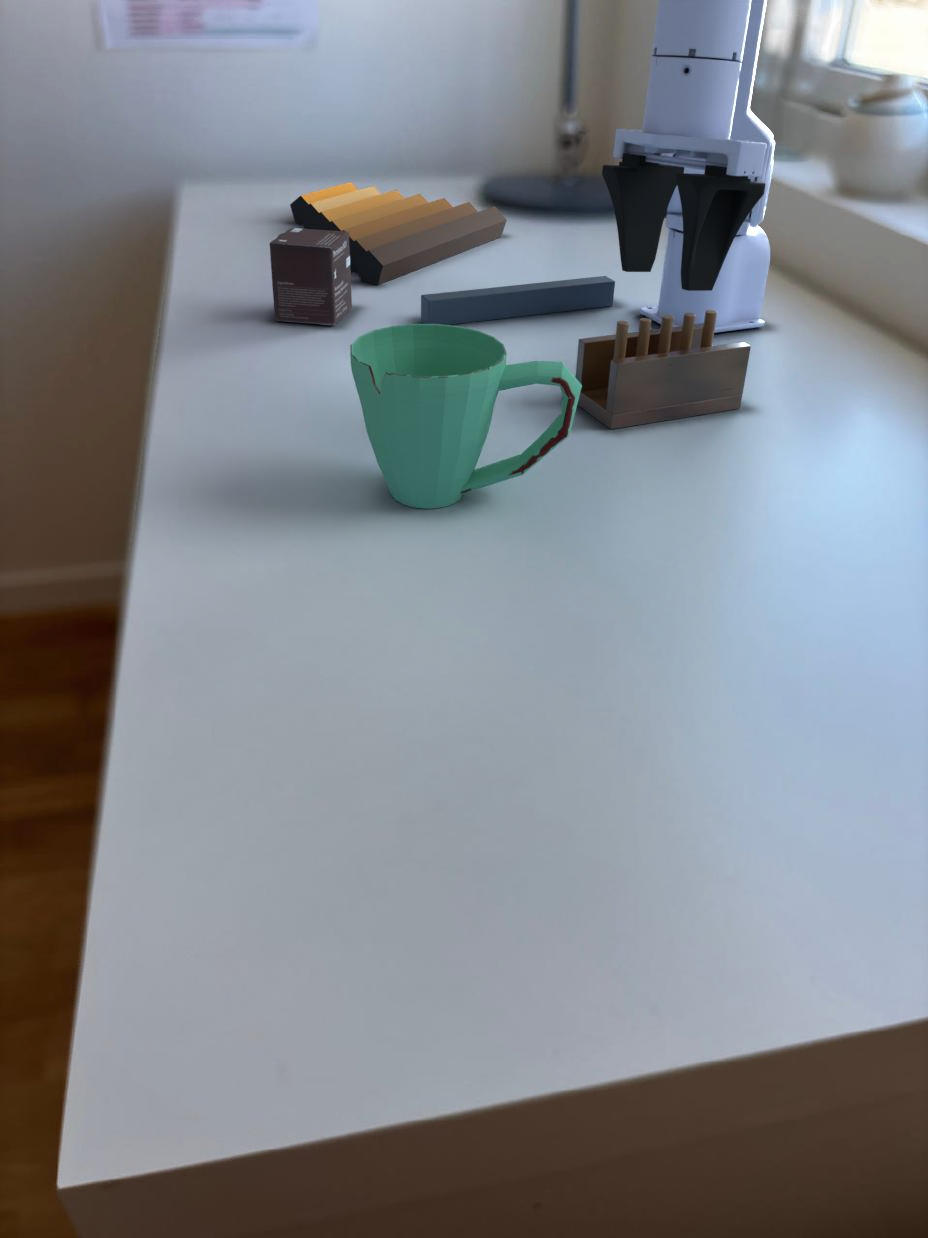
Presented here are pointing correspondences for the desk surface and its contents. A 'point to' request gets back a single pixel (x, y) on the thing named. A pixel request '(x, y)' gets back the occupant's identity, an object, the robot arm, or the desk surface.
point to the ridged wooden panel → (396, 228)
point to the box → (311, 276)
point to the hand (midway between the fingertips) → (665, 280)
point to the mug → (445, 408)
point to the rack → (660, 372)
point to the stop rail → (516, 300)
